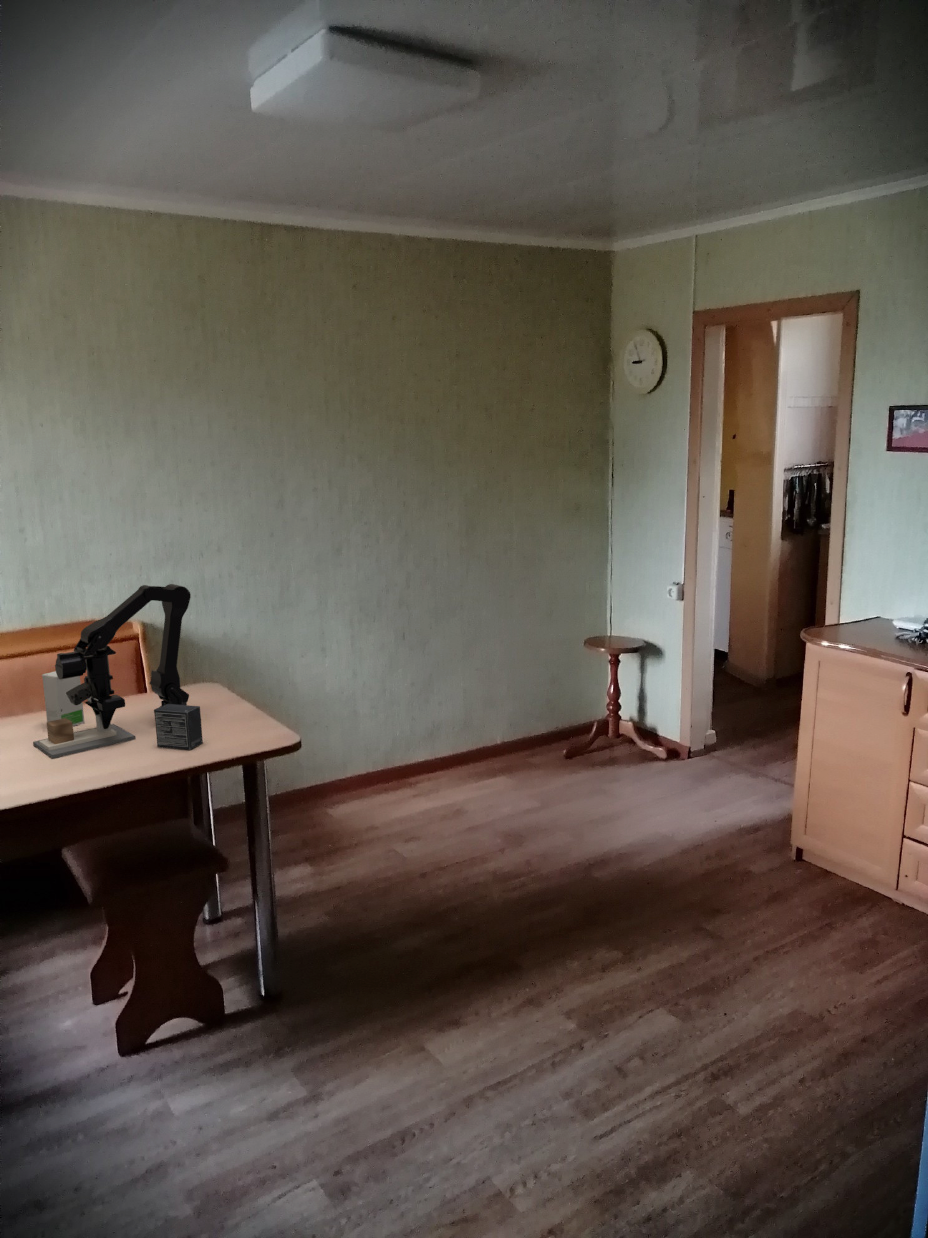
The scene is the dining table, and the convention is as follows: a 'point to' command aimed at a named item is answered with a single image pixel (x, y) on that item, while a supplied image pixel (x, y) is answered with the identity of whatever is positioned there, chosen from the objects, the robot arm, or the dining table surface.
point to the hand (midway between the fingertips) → (104, 727)
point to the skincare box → (61, 699)
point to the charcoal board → (88, 743)
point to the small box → (178, 726)
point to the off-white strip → (83, 736)
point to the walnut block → (60, 731)
